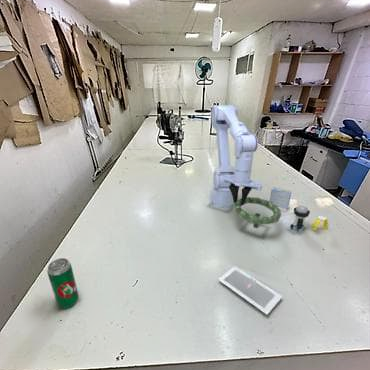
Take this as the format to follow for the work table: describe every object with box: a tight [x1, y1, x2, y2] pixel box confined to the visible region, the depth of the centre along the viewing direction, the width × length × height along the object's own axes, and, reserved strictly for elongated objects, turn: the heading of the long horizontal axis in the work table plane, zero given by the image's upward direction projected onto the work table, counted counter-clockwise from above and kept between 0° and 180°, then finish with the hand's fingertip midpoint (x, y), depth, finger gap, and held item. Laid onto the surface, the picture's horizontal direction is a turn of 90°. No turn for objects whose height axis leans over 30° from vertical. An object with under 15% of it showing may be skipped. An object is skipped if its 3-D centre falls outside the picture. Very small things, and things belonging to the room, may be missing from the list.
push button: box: [289, 205, 311, 232], centre depth 87 cm, size 7×5×10 cm
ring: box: [233, 196, 282, 225], centre depth 86 cm, size 16×16×2 cm
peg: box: [252, 212, 261, 229], centre depth 89 cm, size 8×8×6 cm
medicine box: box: [269, 186, 292, 210], centre depth 105 cm, size 8×4×9 cm, turn 58°
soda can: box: [46, 257, 80, 309], centre depth 57 cm, size 5×5×12 cm
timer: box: [312, 215, 329, 232], centre depth 88 cm, size 6×3×6 cm, turn 110°
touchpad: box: [217, 265, 283, 315], centre depth 63 cm, size 8×15×2 cm, turn 43°
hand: (238, 203), depth 89 cm, fingers closed on ring, 2 cm apart
